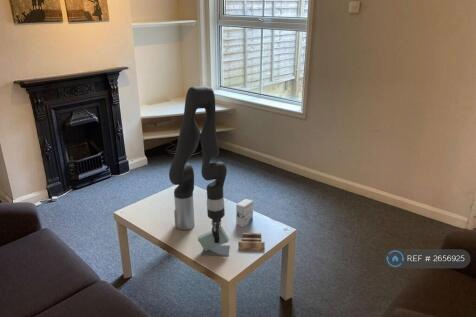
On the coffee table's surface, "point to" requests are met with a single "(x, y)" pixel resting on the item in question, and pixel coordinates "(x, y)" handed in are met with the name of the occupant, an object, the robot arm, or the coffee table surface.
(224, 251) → the rubber mat
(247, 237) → the walnut slot block
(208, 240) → the grey-green rectangular block
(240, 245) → the wooden bar
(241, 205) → the ink box
